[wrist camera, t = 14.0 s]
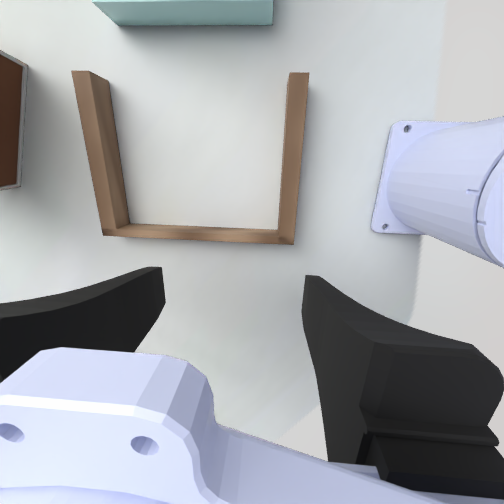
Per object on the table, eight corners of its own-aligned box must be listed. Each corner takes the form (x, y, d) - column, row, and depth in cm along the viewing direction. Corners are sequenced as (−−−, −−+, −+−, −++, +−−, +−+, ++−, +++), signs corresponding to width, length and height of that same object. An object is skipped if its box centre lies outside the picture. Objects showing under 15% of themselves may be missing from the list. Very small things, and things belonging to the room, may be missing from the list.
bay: (304, 83, 17) (309, 72, 15) (291, 237, 20) (293, 244, 19) (92, 80, 17) (71, 70, 16) (117, 229, 21) (103, 235, 19)
